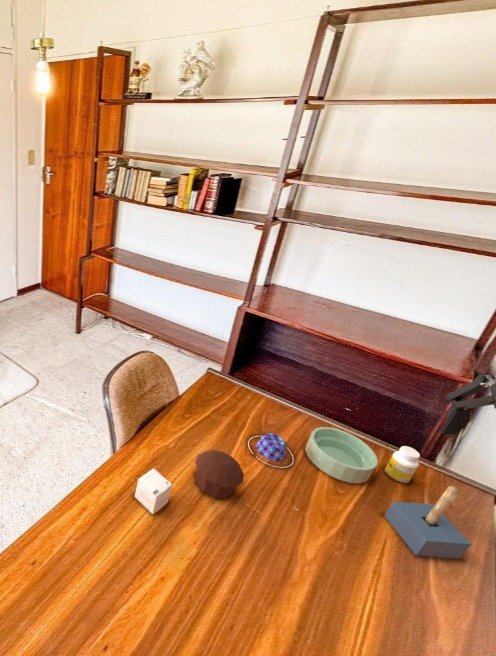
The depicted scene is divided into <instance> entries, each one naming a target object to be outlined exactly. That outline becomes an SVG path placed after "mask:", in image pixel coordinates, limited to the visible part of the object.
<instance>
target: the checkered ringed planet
mask: <svg viewBox="0 0 496 656" xmlns="http://www.w3.org/2000/svg"><path fill="white" fill-rule="evenodd" d="M256 437H258V435H255V436H252V437H251V438H249V440H248V442H247V445H248V449H249V450H250V453H253V451H252V450H251V448H250V441H251V440H252V439H254V438H256ZM255 448H256V449H257V453H258V454H259V455H261V456H263V457H264V458H265V459H267V460H269V461H273V462H275V463H280V462H281V461H285V460H286V455H287V454H286V453H287V451H286V449H287V450H288V452H289V453H290V454H291V456H292V462H291V464H290V465H288V466H287V465H286V466H279V468H281V469H283V468H289V467H291V466H292V465H293V464H294V461H295V460H294V459H295V458H294V455H293V453H292V451H291V450H290V449H289V447H287V443H286V441H285V440H284V439H283V437H281V436H280V435H277V434H275V433H272V432H271V433H269V432H267V433H265V434H264V435H262V436H261V438H260V439H259V440H258V441H257V442H256V444H255ZM257 459H258V460H259V461H260V462H262V463H264V464H265V465H269V466H271V467H274V468H277V466H276V465H272V464H269V463H267V462H265V461H263V460H261V459H260V458H258V457H257Z"/></svg>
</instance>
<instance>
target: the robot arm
mask: <svg viewBox="0 0 496 656" xmlns="http://www.w3.org/2000/svg"><path fill="white" fill-rule="evenodd" d="M488 388H490V395H485V396H480V397H476V398H471V399H468V398H469V397H471V396H473V395H476V394H478V393H480V392H482V391H484V390H486V389H488ZM444 397H445V400H446V401H449V402H450V408H449V410H448V412H447V413H446V415H445V418H446V420H445V423H444V424H443V425H442V428H441V429H440V430H439V432H440V434H442V435H452V436H455V435H456V434H457V433H458V431H459V429H460V428H461V427H462V425H463V423H464V422H465V421H466V419H467V417H468V416H469V414H470V412H469V411H468V410H470V409H475V408H481V407H486V406H487V407H488V406H494V407H493V408H494V409H495V410H496V376H495V375H489V374H478V375H477V376H475V379H474V380H473V381H472V382H469V383H467V384H465V385H464V386H462V387H460V388H458V389H456V390H453V391H452V392H449V393H448V394H446V395H444Z"/></svg>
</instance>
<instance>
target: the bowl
mask: <svg viewBox="0 0 496 656" xmlns="http://www.w3.org/2000/svg"><path fill="white" fill-rule="evenodd" d="M304 450H305V452H306V456H307V457H308V459H309V461H311V463H312V464H313V465H315V466H316V467H317V469H319V470H320V471H322V472H323V473H324V474H327V475H328V476H330V477H332V478H335V479H337V480H339V481H342V482H345V483H349V484H363V483H367V482H368V480H369V479H370V478H371V477H372V476H373V474H374V471H375V470H376V468H377V466H378V462H379V460H378V459H379V458H378V457H377V454H376V452H375V451H374V450H373V449H372V448H371V447H370V446H369V445H368V444H367V443H365V442H364V441H363V440H362V439H360V438H358V437H357V436H355V435H353V434H351V433H350V432H347V431H344V430H342V429H339V428H336V427H335V428H334V427H331V426H330V427H329V426H328V427H327V426H320V427H316V428H315V429H313V430H312V431H311V433H310V435H309V437H308V439H307V442H306V444H305V448H304Z"/></svg>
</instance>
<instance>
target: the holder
mask: <svg viewBox="0 0 496 656" xmlns="http://www.w3.org/2000/svg"><path fill="white" fill-rule="evenodd" d="M434 506H435V504H434V503H421V502H405V501H392V502H391V505H390V506H389V507H388V509H387V511H386V512H385V514H384V517H385V519H386V520H387V521H388V522H389V524H390V525H391V526H392V527H393V529H394V530H395V531H396V533H397V534H398V535H399V536H400V538H401V539H402V540H403V542H405V544H406V545H407V547H409V549H410V550H411V551H412V553H413V554H414V556H418V557H432V558H445V559H458V560H459V559H461V558H462V557H463V556H464V555H465V554H466V552H467V551H468V550H469V548H470V547H471V545H472V543H471V542H470V541H469V540H468V539H467V537H466V536H465V535H464V534H463V533H462V532H461V531H460V530H459V529H458V528H457V527H456V525H454V523H452V521H450V519H449V518H448V517H447V516H446V515H445V514H444V513H443V515H442V516H441V517H440V519H439V520H438V521H437V523H436V524H435V525H434V527H431V526H429V525H428V524H427V523H426V522H425V521H424V519H425V518H426V517H427V515H428V514H429V512H430V511H431V510H432V508H433V507H434Z"/></svg>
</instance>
